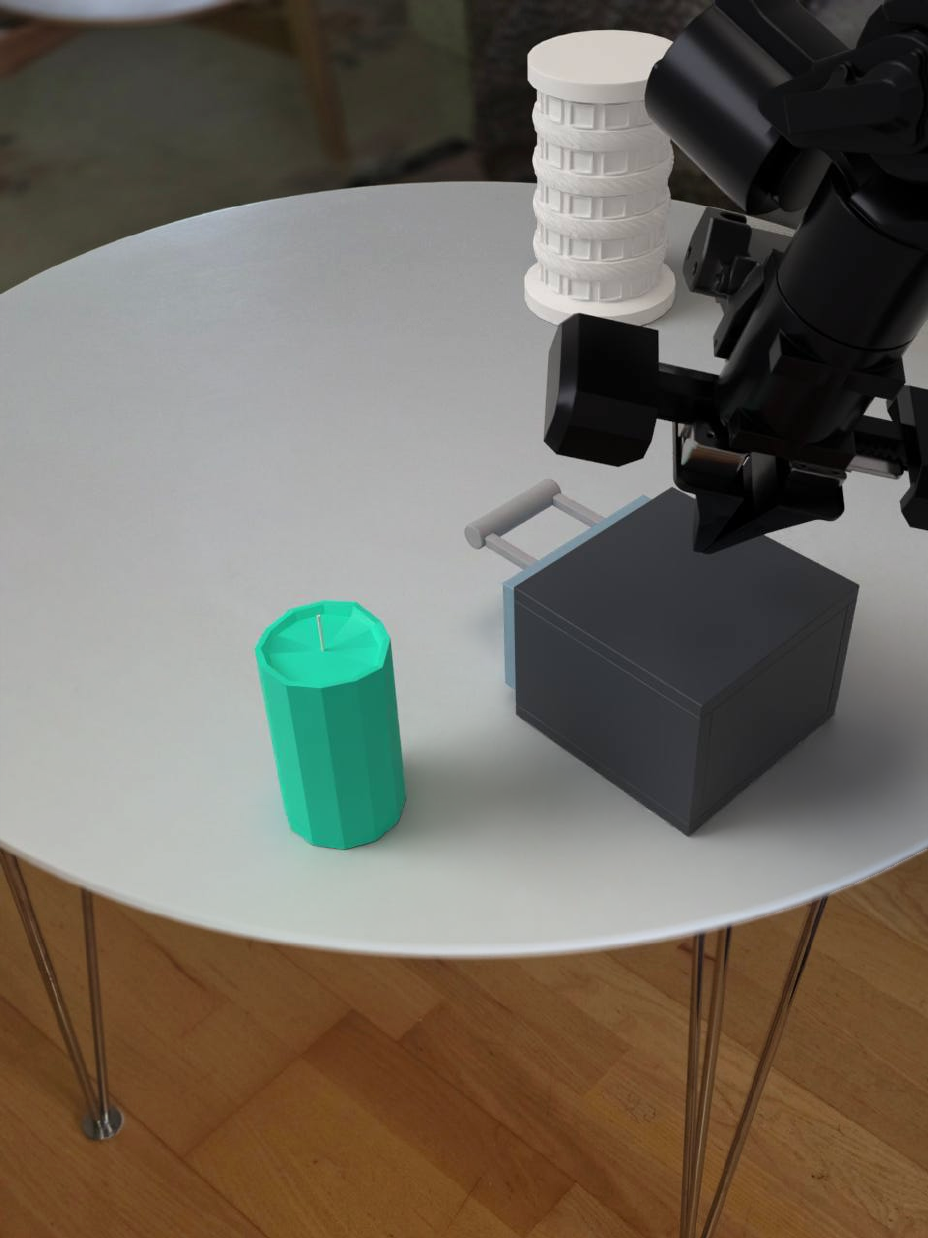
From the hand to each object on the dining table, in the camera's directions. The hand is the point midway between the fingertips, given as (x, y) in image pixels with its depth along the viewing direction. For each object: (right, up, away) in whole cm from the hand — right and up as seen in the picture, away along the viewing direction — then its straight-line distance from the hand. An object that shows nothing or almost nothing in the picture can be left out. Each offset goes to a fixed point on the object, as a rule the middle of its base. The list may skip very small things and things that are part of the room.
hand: (700, 545), depth 63 cm
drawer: (-3, -6, +10) cm, 12 cm away
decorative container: (0, +21, +43) cm, 48 cm away
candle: (-17, -13, +4) cm, 21 cm away
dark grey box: (0, -8, +8) cm, 11 cm away
